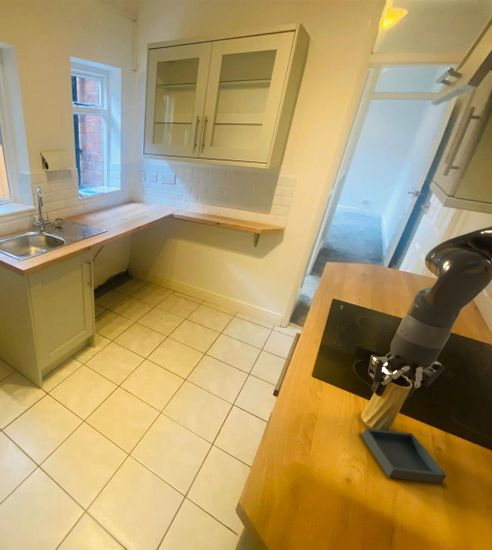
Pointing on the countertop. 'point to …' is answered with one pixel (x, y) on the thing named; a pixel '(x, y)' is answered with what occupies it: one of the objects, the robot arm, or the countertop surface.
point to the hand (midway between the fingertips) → (390, 394)
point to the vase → (387, 404)
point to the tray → (403, 456)
